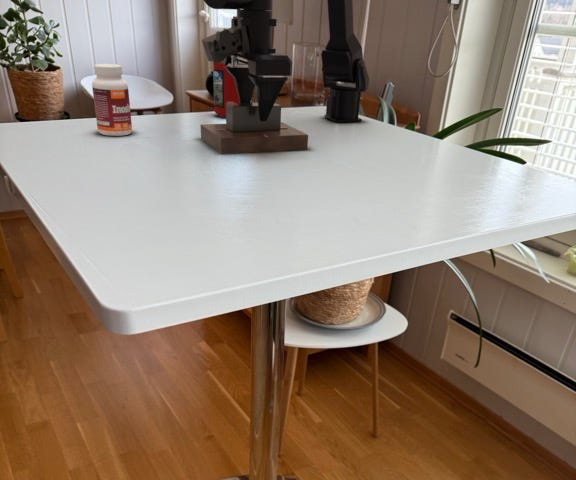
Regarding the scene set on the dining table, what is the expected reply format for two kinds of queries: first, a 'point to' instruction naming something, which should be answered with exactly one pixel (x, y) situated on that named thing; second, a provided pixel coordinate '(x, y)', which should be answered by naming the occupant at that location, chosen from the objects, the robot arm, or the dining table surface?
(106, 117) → the pill bottle
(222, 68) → the beverage can
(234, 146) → the brown wooden base
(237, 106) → the rectangular block
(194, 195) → the dining table surface
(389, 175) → the dining table surface
